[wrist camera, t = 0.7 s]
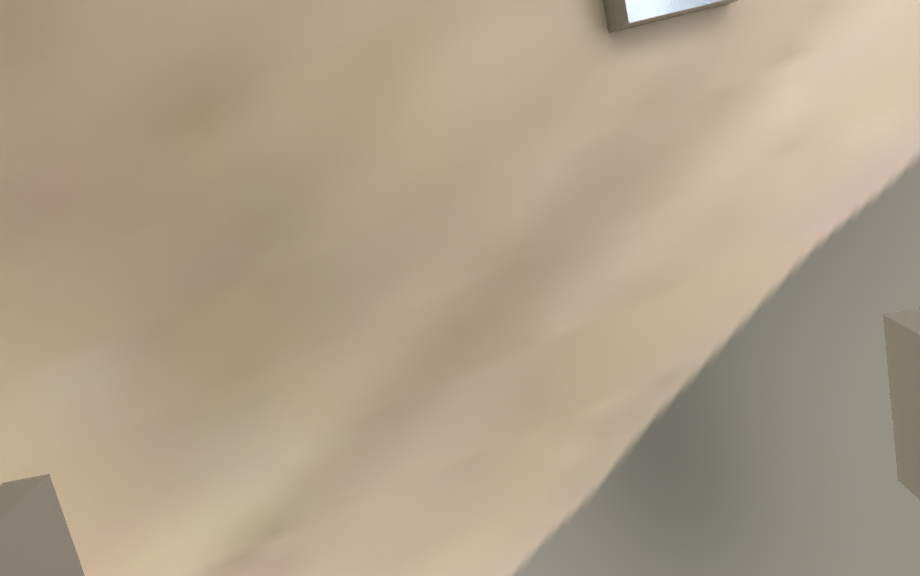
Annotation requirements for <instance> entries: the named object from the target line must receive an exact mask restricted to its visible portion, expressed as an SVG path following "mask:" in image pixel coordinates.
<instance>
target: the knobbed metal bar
mask: <svg viewBox="0 0 920 576" xmlns="http://www.w3.org/2000/svg"><path fill="white" fill-rule="evenodd" d="M735 1H738V0H603V2H604V8H605V13H606V19H607V24H608V29H609V32H613V31H617V30H621V29H625V28H630V27H634V26H638V25H642V24H646V23H650V22H655V21H659V20H663V19H667V18H671V17H676V16H680V15H684V14H688V13H692V12H696V11H701V10H705V9H709V8H713V7H717V6H721V5H726V4H729V3H732V2H735Z"/></svg>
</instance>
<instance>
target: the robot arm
mask: <svg viewBox="0 0 920 576" xmlns="http://www.w3.org/2000/svg"><path fill="white" fill-rule="evenodd" d="M883 321H884V332H885V342H886V354H887V364H888V376H889V387H890V398H891V407H892V420H893V430H894V441H895V452H896V463H897V474H898V481H899V482H901V483H902V484H903V485H904V486H905V487H906V488H907V489H908V490H909V491H910V492H912V493H913V494H914V495H915V496H916V497H917V498H918V499H919V500H920V308H915V309H910V310H905V311H899V312H894V313H889V314H884V315H883ZM0 576H85V575H84V572H83V570H82V567H81V564H80V561H79V558H78V555H77V552H76V550H75V547H74V544H73V541H72V538H71V535H70V532H69V530H68V527H67V524H66V521H65V518H64V515H63V512H62V510H61V507H60V504H59V501H58V498H57V495H56V492H55V490H54V487H53V484H52V481H51V478H50V475H49V474H48V475H42V476H37V477H32V478H27V479H22V480H16V481H11V482H6V483H3V484H2V485H0Z"/></svg>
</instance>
